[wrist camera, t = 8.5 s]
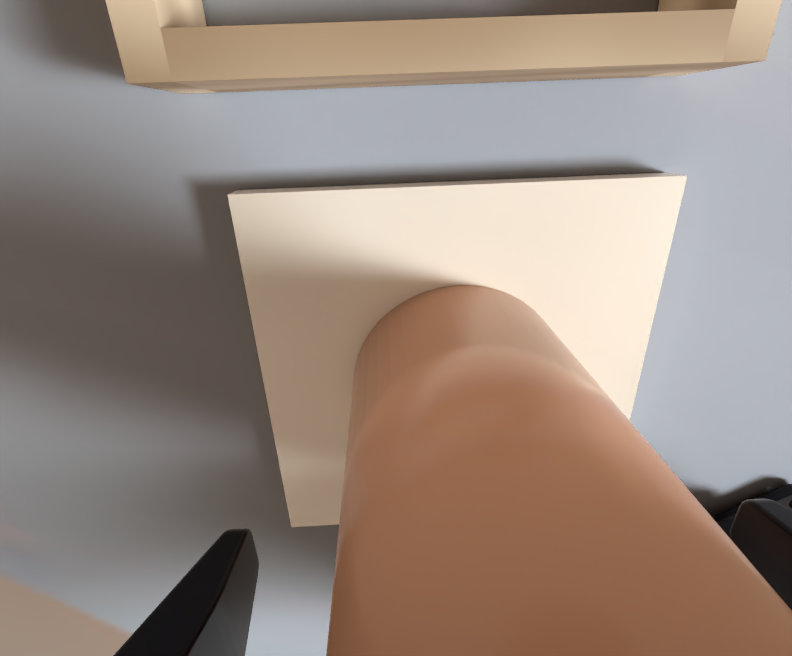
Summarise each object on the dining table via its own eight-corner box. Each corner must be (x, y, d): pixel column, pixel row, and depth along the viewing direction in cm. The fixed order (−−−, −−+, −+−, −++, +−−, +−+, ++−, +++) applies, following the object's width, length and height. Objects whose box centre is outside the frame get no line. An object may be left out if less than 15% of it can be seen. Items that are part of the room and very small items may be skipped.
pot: (591, 402, 13) (957, 874, 5) (424, 490, 14) (488, 982, 6) (498, 240, 11) (878, 600, 3) (310, 360, 12) (166, 861, 4)
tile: (597, 491, 16) (608, 509, 15) (295, 508, 16) (291, 527, 15) (667, 172, 11) (687, 175, 10) (237, 190, 11) (227, 194, 10)
